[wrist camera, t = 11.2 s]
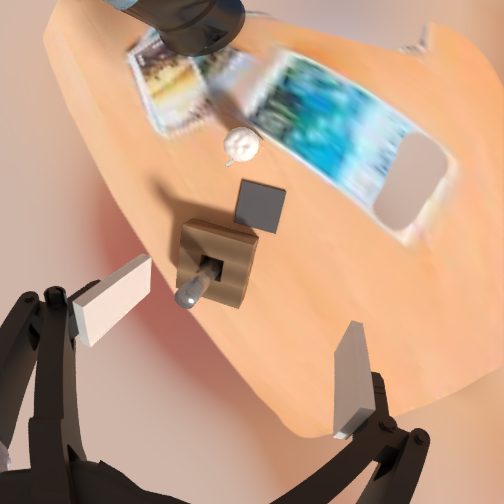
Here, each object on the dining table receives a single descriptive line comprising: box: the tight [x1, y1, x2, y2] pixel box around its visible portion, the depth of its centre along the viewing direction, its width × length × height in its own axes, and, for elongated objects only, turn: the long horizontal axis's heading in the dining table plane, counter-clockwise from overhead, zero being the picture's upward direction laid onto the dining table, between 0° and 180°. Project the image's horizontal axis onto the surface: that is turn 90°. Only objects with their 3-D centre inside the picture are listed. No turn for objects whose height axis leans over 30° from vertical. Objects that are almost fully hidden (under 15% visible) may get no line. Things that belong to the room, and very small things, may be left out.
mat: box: [234, 181, 286, 234], centre depth 43 cm, size 7×7×1 cm
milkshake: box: [224, 127, 265, 167], centre depth 36 cm, size 4×5×10 cm
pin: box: [175, 257, 224, 309], centre depth 42 cm, size 3×3×14 cm
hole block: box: [176, 219, 259, 309], centre depth 46 cm, size 12×12×4 cm
